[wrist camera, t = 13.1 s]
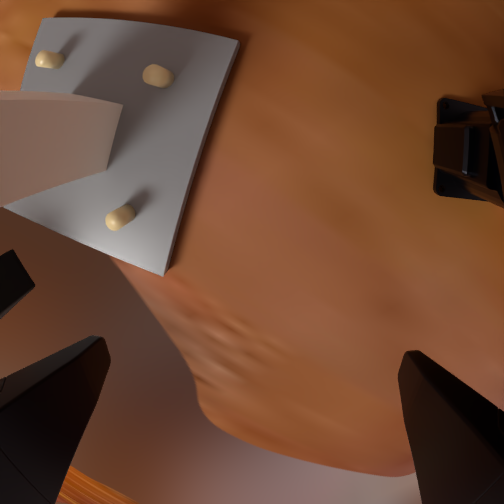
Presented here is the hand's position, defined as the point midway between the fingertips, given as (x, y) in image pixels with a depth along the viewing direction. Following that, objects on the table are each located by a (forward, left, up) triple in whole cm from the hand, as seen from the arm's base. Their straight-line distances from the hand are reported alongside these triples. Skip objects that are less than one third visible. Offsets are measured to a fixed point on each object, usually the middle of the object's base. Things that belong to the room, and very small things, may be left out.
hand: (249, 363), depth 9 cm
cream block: (+12, -7, -12) cm, 18 cm away
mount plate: (+12, -7, -13) cm, 19 cm away
